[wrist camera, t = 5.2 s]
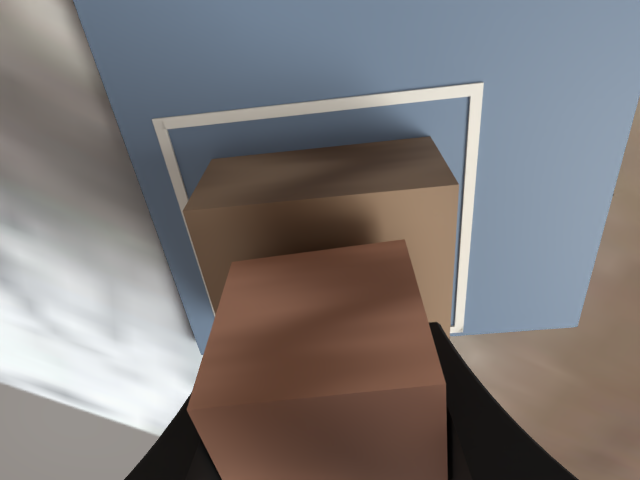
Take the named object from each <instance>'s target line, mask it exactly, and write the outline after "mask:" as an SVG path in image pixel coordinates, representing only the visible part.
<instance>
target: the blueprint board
mask: <svg viewBox="0 0 640 480" xmlns="http://www.w3.org/2000/svg"><path fill="white" fill-rule="evenodd" d="M73 2H74V5H75V7H76V10H77V13H78V16H79V18H80V21H81V24H82V27H83V30H84V32H85V35H86V38H87V41H88V43H89V46H90V49H91V52H92V54H93V57H94V60H95V63H96V65H97V68H98V71H99V74H100V77H101V79H102V82H103V85H104V88H105V90H106V93H107V96H108V99H109V101H110V104H111V107H112V110H113V112H114V115H115V118H116V121H117V124H118V126H119V129H120V132H121V135H122V137H123V140H124V143H125V146H126V148H127V151H128V154H129V157H130V159H131V162H132V165H133V168H134V171H135V173H136V176H137V179H138V182H139V184H140V187H141V190H142V193H143V195H144V198H145V201H146V204H147V206H148V209H149V212H150V215H151V217H152V220H153V223H154V226H155V229H156V231H157V234H158V237H159V240H160V242H161V245H162V248H163V251H164V253H165V256H166V259H167V262H168V264H169V267H170V270H171V273H172V276H173V278H174V281H175V284H176V287H177V289H178V292H179V295H180V298H181V300H182V303H183V306H184V309H185V311H186V314H187V317H188V320H189V323H190V325H191V328H192V331H193V334H194V336H195V339H196V342H197V345H198V347H199V350H200V353H201V355H204V351H205V348H206V345H207V342H208V338H209V335H210V332H211V328H212V325H213V322H214V319H215V312H214V309H213V306H212V303H211V300H210V297H209V293H208V290H207V287H206V284H205V281H204V278H203V274H202V271H201V268H200V265H199V262H198V259H197V255H196V252H195V249H194V246H193V243H192V240H191V237H190V233H189V230H188V227H187V224H186V221H185V218H184V214H183V209H184V208H185V206H186V204H187V202H188V200H189V199H190V197H191V195H192V193H193V192H194V190H195V188H196V186H197V184H198V183H199V181H200V179H201V177H202V175H203V174H204V172H205V170H206V168H207V167H208V165H209V163H210V161H211V159H217V158H227V157H236V156H246V155H255V154H265V153H275V152H284V151H294V150H304V149H313V148H323V147H332V146H342V145H352V144H361V143H371V142H381V141H390V140H400V139H410V138H419V137H429V136H431V138H432V140H433V141H434V143H435V145H436V146H437V148H438V150H439V151H440V153H441V155H442V157H443V158H444V160H445V162H446V163H447V165H448V167H449V168H450V170H451V172H452V173H453V175H454V177H455V178H456V180H457V182H458V183H459V196H458V212H457V228H456V244H455V260H454V276H453V293H452V309H451V325H450V336H461V335H475V334H488V333H502V332H515V331H529V330H542V329H556V328H569V327H577V326H578V322H579V319H580V315H581V311H582V307H583V304H584V300H585V296H586V293H587V289H588V285H589V281H590V278H591V274H592V270H593V267H594V263H595V259H596V255H597V252H598V248H599V244H600V241H601V237H602V233H603V229H604V226H605V222H606V218H607V215H608V211H609V207H610V203H611V200H612V196H613V192H614V189H615V185H616V181H617V177H618V174H619V170H620V166H621V163H622V159H623V155H624V151H625V148H626V144H627V140H628V137H629V133H630V129H631V126H632V122H633V118H634V114H635V111H636V107H637V103H638V100H639V96H640V0H73Z"/></svg>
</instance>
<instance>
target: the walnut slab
mask: <svg viewBox="0 0 640 480" xmlns="http://www.w3.org/2000/svg"><path fill="white" fill-rule="evenodd" d="M458 196H459V183H458V182H457V180H456V178H455V177H454V175H453V173H452V172H451V170H450V168H449V167H448V165H447V163H446V162H445V160H444V158H443V157H442V155H441V153H440V151H439V150H438V148H437V146H436V145H435V143H434V141H433V140H432V138H431V136H429V137H419V138H410V139H400V140H390V141H381V142H371V143H361V144H352V145H342V146H332V147H323V148H313V149H304V150H294V151H284V152H275V153H265V154H255V155H246V156H236V157H227V158H217V159H211V161H210V163H209V165H208V167H207V168H206V170H205V172H204V174H203V175H202V177H201V179H200V181H199V183H198V184H197V186H196V188H195V190H194V192H193V193H192V195H191V197H190V199H189V200H188V202H187V204H186V206H185V208H184V209H183V214H184V218H185V221H186V224H187V227H188V230H189V233H190V237H191V240H192V243H193V246H194V249H195V252H196V255H197V259H198V262H199V265H200V268H201V271H202V274H203V278H204V281H205V284H206V287H207V290H208V293H209V297H210V300H211V303H212V306H213V309H214V312H215V315H216V312H217V309H218V306H219V302H220V299H221V296H222V292H223V289H224V286H225V283H226V279H227V276H228V273H229V270H230V266H231V263H232V262H235V261H243V260H251V259H258V258H266V257H273V256H281V255H289V254H296V253H304V252H311V251H319V250H327V249H334V248H342V247H349V246H357V245H365V244H372V243H380V242H387V241H395V240H403V239H405V242H406V245H407V249H408V252H409V256H410V259H411V263H412V266H413V270H414V273H415V277H416V280H417V284H418V288H419V291H420V295H421V298H422V302H423V305H424V309H425V312H426V316H427V319H428V323H429V322H438V323H439V324H440V325H441V326H442V328H443V330H444V332H445V333H446V335H447V337H448V338H449V340H450V325H451V309H452V293H453V276H454V260H455V244H456V228H457V212H458Z"/></svg>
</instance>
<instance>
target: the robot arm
mask: <svg viewBox="0 0 640 480" xmlns="http://www.w3.org/2000/svg"><path fill="white" fill-rule="evenodd" d="M429 326H430V330H431V333H432V337H433V340H434V344H435V347H436V351H437V354H438V358H439V361H440V365H441V368H442V372H443V375H444V379H445V382H446V413H447V467H448V480H578V479H577V478H576V477H575V476H574V475H572V474H571V473H570V472H569V471H568V470H567V469H565V468H564V467H563V466H562V465H561V464H560V463H558V462H557V461H556V460H555V459H554V458H553V457H551V456H550V455H549V454H548V453H547V452H546V451H545V450H544V449H543V448H542V447H541V446H540V445H539V444H538V443H536V442H535V441H534V440H533V439H532V438H531V437H530V436H529V435H528V434H527V433H526V432H525V431H524V430H523V429H522V428H521V427H520V426H519V425H518V424H517V423H516V422H515V421H514V420H513V419H512V418H511V416H510V415H509V414H508V413H507V412H506V411H505V410H504V409H503V408H502V407H501V406H500V404H499V403H498V402H497V401H496V400H495V399H494V398H493V396H492V395H491V394H490V393H489V392H488V391H487V389H486V388H485V387H484V386H483V385H482V383H481V382H480V381H479V380H478V378H477V377H476V376H475V375H474V373H473V372H472V371H471V369H470V368H469V367H468V366H467V364H466V363H465V362H464V360H463V359H462V357H461V356H460V355H459V353H458V352H457V350H456V349H455V347H454V346H453V344H452V343H451V341H450V340H449V338H448V337H447V335H446V333H445V332H444V330H443V328H442V326H441V325H440V324H439V323H438V322H429ZM191 394H192V393H191ZM191 394H190V396H189V397H188V399H187V400H186V401H185V403H184V404H183V406H182V407H181V409H180V410H179V412H178V413H177V415H176V416H175V417H174V419H173V420H172V421H171V423H170V424H169V425H168V427H167V428H166V429H165V431H164V432H163V433H162V435H161V436H160V437H159V439H158V440H157V441H156V443H155V444H154V445H153V446H152V448H151V449H150V450H149V451H148V453H147V454H146V455H145V456H144V458H143V459H142V460H141V461H140V462H139V463H138V464H137V466H136V467H135V468H134V469H133V470H132V471H131V473H130V474H129V475H128V476H127V477H126V478H125V479H124V480H222V479H221V477H220V475H219V473H218V471H217V469H216V467H215V465H214V463H213V461H212V459H211V457H210V455H209V453H208V451H207V449H206V447H205V445H204V443H203V441H202V439H201V437H200V435H199V433H198V431H197V429H196V427H195V425H194V424H193V422H192V420H191V418H190V416H189V414H188V412H187V407H188V404H189V400H190V397H191Z"/></svg>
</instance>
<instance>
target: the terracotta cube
mask: <svg viewBox="0 0 640 480" xmlns="http://www.w3.org/2000/svg"><path fill="white" fill-rule="evenodd" d="M187 412H188V414H189V416H190V418H191V420H192V422H193V424H194V425H195V427H196V429H197V431H198V433H199V435H200V437H201V439H202V441H203V443H204V445H205V447H206V449H207V451H208V453H209V455H210V457H211V459H212V461H213V463H214V465H215V467H216V469H217V471H218V473H219V475H220V477H221V479H222V480H448V467H447V413H446V382H445V379H444V375H443V372H442V368H441V365H440V361H439V358H438V354H437V351H436V347H435V344H434V340H433V337H432V333H431V330H430V326H429V323H428V319H427V316H426V312H425V309H424V305H423V302H422V298H421V295H420V291H419V288H418V284H417V280H416V277H415V273H414V270H413V266H412V263H411V259H410V256H409V252H408V249H407V245H406V242H405V239H403V240H395V241H387V242H380V243H372V244H365V245H357V246H349V247H342V248H334V249H327V250H319V251H311V252H304V253H296V254H289V255H281V256H273V257H266V258H258V259H251V260H243V261H235V262H232V263H231V266H230V270H229V273H228V276H227V279H226V283H225V286H224V289H223V292H222V296H221V299H220V302H219V306H218V309H217V312H216V315H215V319H214V322H213V325H212V328H211V332H210V335H209V338H208V342H207V345H206V348H205V351H204V355H203V358H202V361H201V364H200V368H199V371H198V374H197V378H196V381H195V384H194V387H193V391H192V394H191V397H190V400H189V404H188V407H187Z"/></svg>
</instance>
